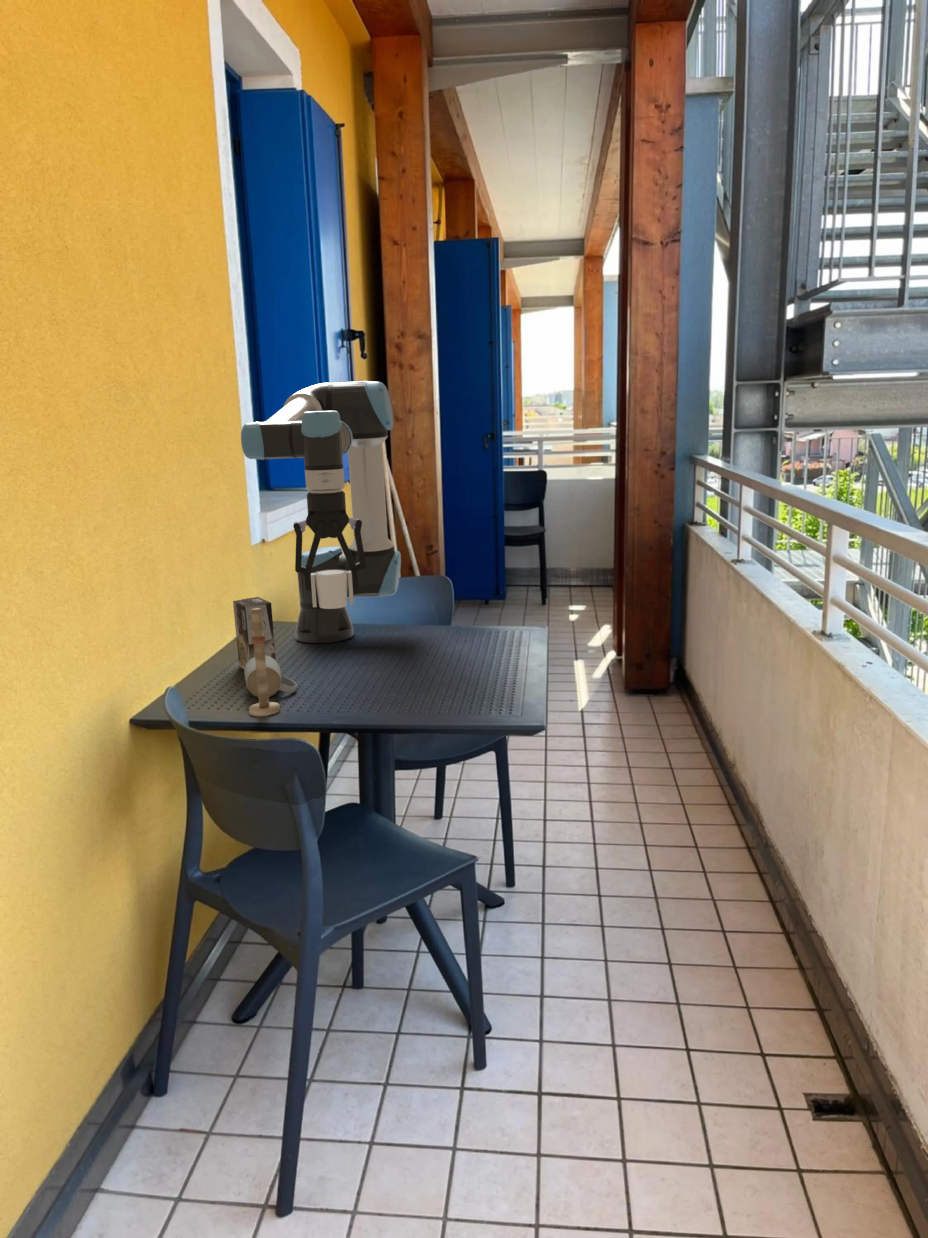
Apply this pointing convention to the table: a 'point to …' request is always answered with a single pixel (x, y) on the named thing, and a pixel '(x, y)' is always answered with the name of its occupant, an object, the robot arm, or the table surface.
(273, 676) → the ceramic mug
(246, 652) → the coffee box
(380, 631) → the table surface
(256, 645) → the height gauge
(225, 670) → the table surface
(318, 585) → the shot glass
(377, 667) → the table surface
